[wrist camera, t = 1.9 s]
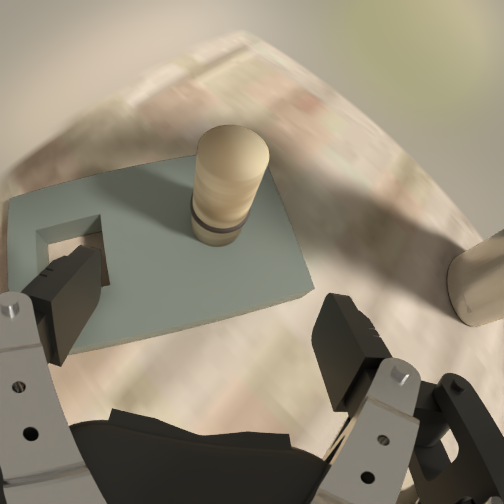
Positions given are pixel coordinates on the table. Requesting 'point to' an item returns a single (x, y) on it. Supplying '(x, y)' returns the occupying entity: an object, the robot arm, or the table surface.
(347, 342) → the robot arm
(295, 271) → the board
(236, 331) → the table surface
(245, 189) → the peg
